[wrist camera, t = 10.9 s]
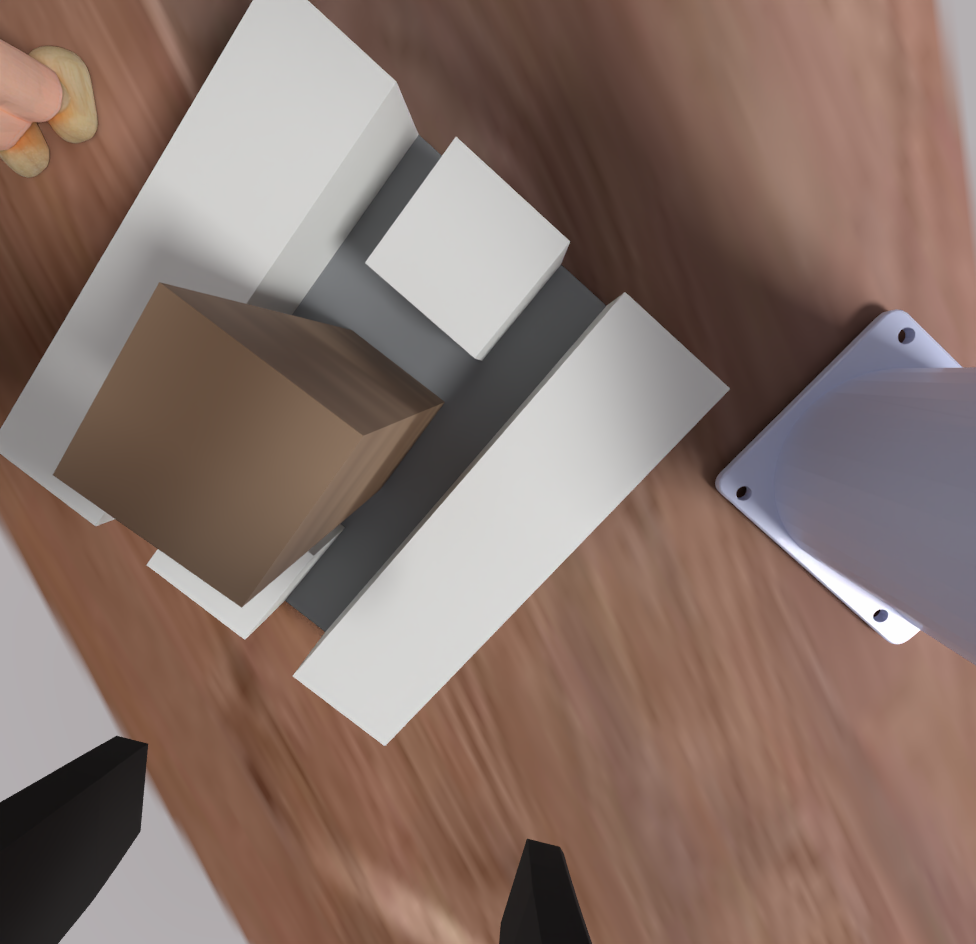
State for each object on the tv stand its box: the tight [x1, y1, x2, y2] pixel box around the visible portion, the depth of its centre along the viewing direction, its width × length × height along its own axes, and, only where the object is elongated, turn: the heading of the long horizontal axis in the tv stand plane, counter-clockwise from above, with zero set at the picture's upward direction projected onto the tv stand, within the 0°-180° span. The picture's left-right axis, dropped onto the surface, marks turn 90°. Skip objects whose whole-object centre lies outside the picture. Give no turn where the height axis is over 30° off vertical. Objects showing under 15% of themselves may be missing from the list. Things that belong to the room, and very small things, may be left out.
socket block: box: [0, 0, 730, 746], centre depth 16 cm, size 16×16×4 cm
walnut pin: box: [53, 282, 445, 608], centre depth 13 cm, size 4×4×9 cm
